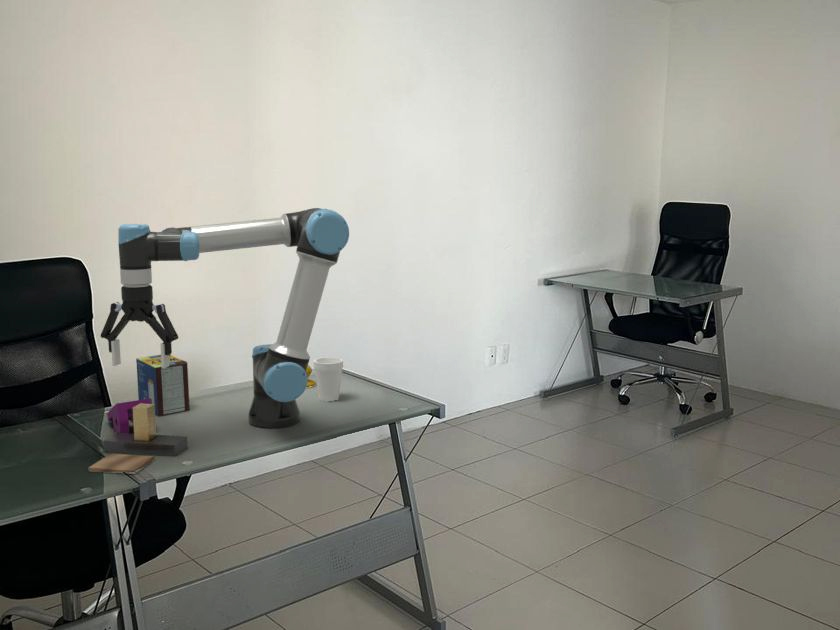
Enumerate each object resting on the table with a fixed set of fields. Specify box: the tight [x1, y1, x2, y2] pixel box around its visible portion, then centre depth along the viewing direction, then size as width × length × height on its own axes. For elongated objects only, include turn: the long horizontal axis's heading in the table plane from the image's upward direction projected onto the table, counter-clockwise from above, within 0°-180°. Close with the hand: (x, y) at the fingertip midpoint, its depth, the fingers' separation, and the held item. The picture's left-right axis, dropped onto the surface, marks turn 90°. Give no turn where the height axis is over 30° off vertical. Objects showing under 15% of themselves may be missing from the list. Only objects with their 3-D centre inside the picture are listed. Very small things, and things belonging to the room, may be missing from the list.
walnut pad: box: [87, 453, 155, 473], centre depth 192 cm, size 12×10×1 cm
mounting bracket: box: [106, 398, 152, 433], centre depth 222 cm, size 9×8×18 cm
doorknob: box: [306, 364, 317, 387], centre depth 269 cm, size 8×8×8 cm
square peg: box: [132, 403, 157, 442], centre depth 203 cm, size 4×4×12 cm
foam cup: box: [313, 356, 344, 402], centre depth 252 cm, size 10×9×13 cm
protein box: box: [135, 354, 191, 417], centre depth 240 cm, size 10×15×16 cm
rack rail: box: [102, 432, 188, 457], centre depth 204 cm, size 20×7×3 cm, turn 81°
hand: (141, 366), depth 201 cm, fingers open, 13 cm apart
